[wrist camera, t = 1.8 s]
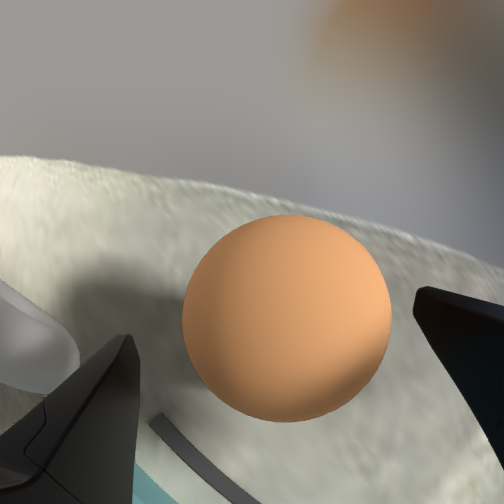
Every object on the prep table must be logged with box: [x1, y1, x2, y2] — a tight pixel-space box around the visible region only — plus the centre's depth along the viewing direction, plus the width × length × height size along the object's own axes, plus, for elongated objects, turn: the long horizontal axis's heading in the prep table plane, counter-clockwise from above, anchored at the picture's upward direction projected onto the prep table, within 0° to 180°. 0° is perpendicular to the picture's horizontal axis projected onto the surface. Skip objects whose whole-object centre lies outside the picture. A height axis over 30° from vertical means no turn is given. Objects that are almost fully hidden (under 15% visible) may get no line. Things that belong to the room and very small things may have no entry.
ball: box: [182, 215, 392, 422], centre depth 9 cm, size 6×6×6 cm
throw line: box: [149, 413, 261, 504], centre depth 12 cm, size 13×1×1 cm, turn 44°
